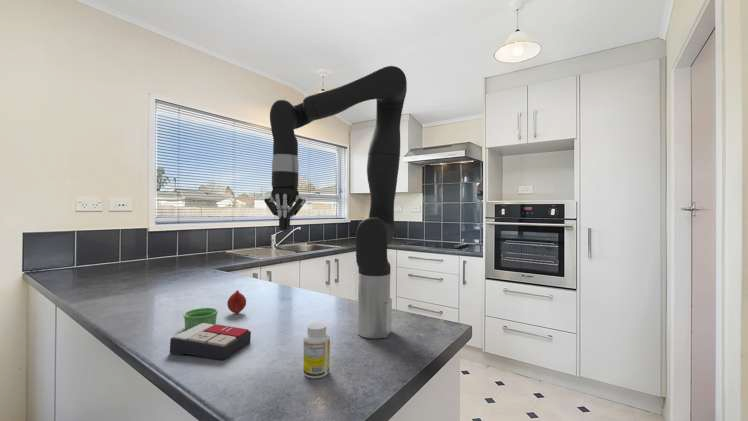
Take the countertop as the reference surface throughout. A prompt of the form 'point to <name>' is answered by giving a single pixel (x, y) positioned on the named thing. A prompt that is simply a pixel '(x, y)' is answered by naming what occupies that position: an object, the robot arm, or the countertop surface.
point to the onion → (236, 302)
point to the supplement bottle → (316, 351)
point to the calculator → (210, 341)
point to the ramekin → (200, 317)
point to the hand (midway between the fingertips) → (284, 230)
